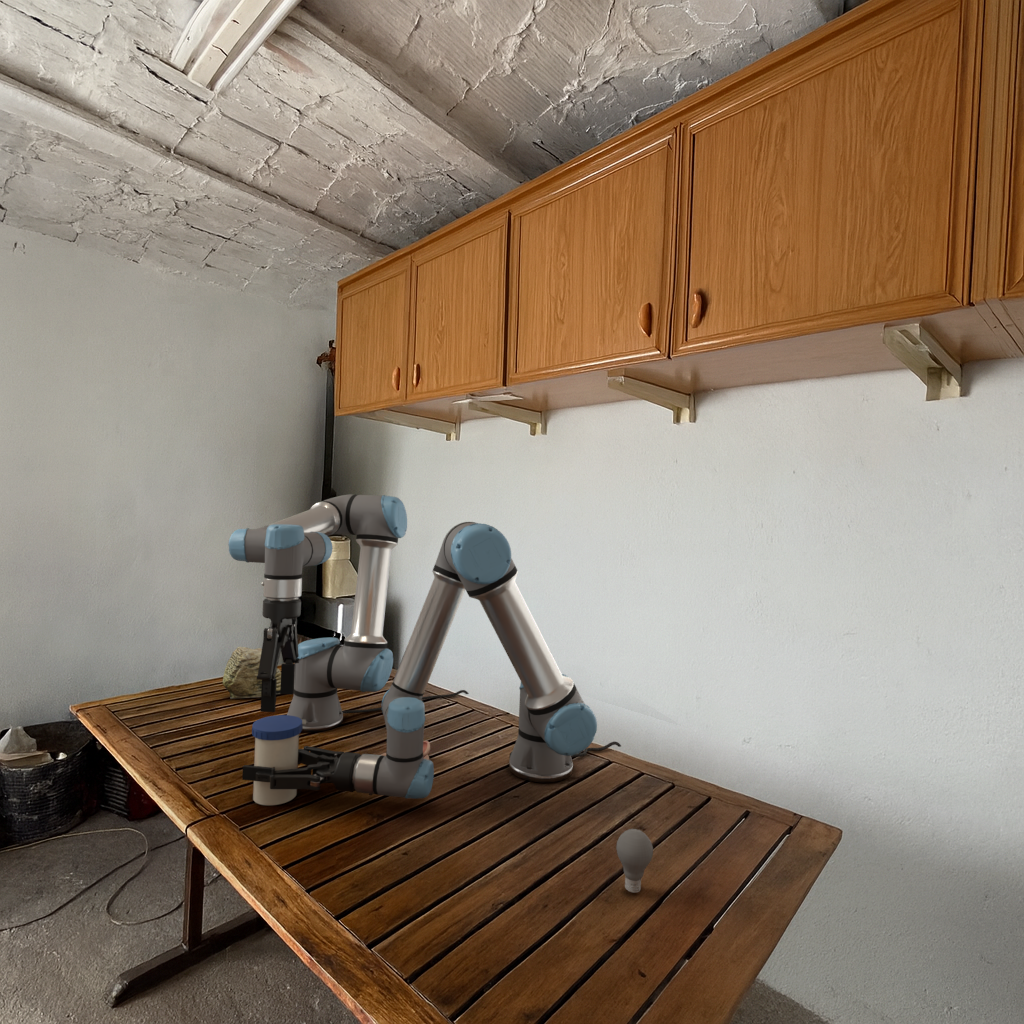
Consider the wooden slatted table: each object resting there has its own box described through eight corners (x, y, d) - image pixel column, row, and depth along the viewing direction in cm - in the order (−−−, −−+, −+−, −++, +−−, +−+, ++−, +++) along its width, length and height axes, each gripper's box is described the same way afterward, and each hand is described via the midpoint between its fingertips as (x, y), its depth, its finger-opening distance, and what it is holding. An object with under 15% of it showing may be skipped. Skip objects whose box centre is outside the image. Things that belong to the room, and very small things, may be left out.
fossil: (218, 695, 195) (220, 647, 195) (278, 685, 208) (279, 640, 207) (228, 703, 189) (230, 653, 188) (289, 692, 201) (290, 645, 201)
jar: (302, 786, 138) (304, 718, 138) (288, 806, 129) (291, 733, 129) (262, 785, 138) (264, 717, 137) (246, 804, 129) (248, 731, 129)
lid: (308, 724, 138) (308, 715, 138) (293, 741, 128) (293, 732, 128) (262, 722, 138) (263, 714, 138) (244, 739, 128) (244, 730, 128)
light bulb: (610, 879, 108) (613, 822, 108) (644, 879, 109) (647, 822, 109) (619, 902, 102) (622, 840, 102) (655, 901, 103) (658, 840, 103)
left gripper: (282, 589, 144) (278, 685, 145) (242, 606, 121) (237, 720, 121) (315, 591, 145) (311, 686, 145) (281, 608, 121) (276, 722, 121)
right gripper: (337, 816, 121) (226, 804, 123) (374, 769, 142) (279, 760, 145) (339, 777, 121) (227, 766, 123) (376, 736, 142) (280, 727, 144)
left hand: (277, 702), depth 133 cm, fingers open, 11 cm apart
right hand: (255, 762), depth 134 cm, fingers closed on jar, 9 cm apart
